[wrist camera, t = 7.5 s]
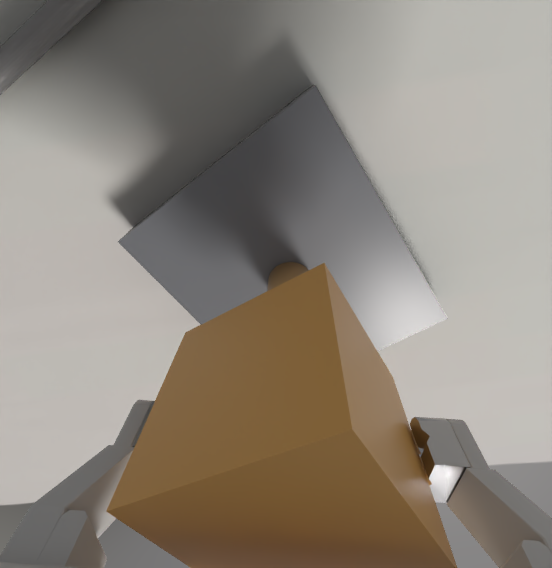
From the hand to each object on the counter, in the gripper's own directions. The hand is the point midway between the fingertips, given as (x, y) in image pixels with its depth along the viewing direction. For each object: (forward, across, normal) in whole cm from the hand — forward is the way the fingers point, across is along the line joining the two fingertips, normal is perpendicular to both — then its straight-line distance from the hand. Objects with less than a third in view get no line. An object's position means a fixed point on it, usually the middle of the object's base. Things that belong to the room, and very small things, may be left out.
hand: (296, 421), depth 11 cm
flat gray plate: (+11, 0, 0) cm, 11 cm away
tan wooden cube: (+2, 0, -1) cm, 2 cm away
